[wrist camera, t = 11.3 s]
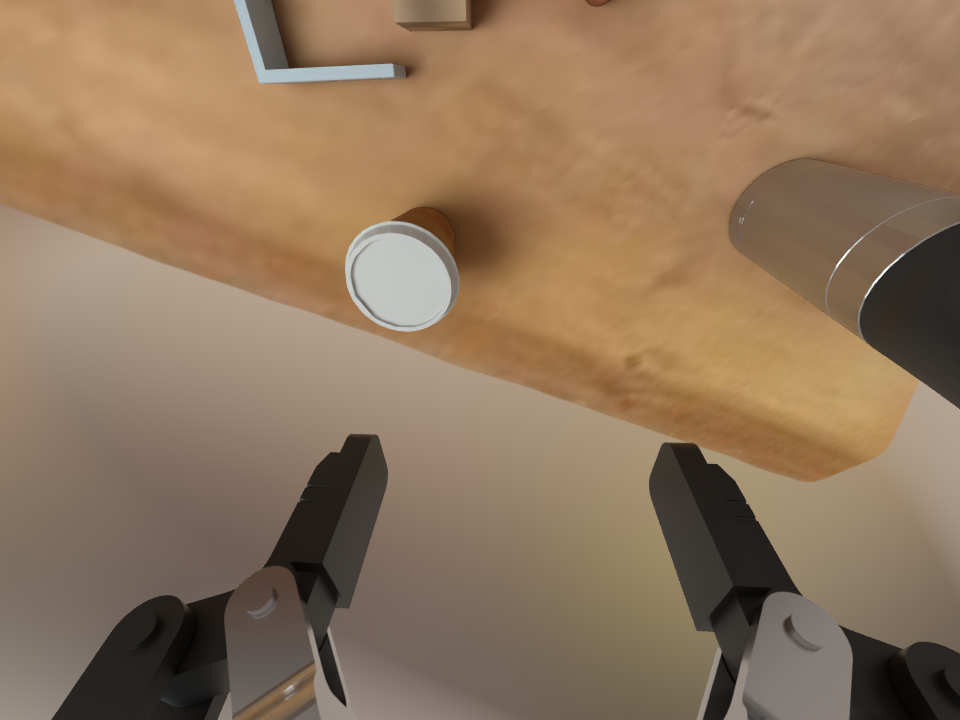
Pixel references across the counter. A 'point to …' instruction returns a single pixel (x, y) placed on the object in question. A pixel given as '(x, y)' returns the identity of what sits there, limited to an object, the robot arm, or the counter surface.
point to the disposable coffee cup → (404, 270)
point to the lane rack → (272, 58)
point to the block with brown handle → (440, 14)
